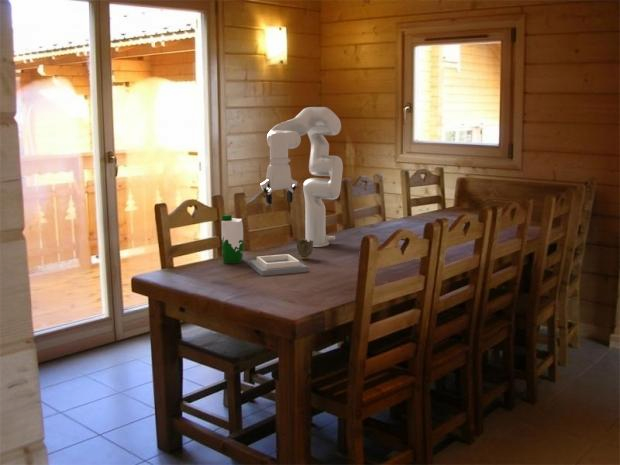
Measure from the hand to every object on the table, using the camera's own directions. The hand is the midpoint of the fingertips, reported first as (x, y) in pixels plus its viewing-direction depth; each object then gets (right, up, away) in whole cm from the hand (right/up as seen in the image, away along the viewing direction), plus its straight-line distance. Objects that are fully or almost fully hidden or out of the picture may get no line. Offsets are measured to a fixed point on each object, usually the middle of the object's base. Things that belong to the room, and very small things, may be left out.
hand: (279, 202), depth 302 cm
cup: (+10, -24, +10) cm, 28 cm away
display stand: (0, -27, -7) cm, 28 cm away
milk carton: (-20, -25, +6) cm, 33 cm away
